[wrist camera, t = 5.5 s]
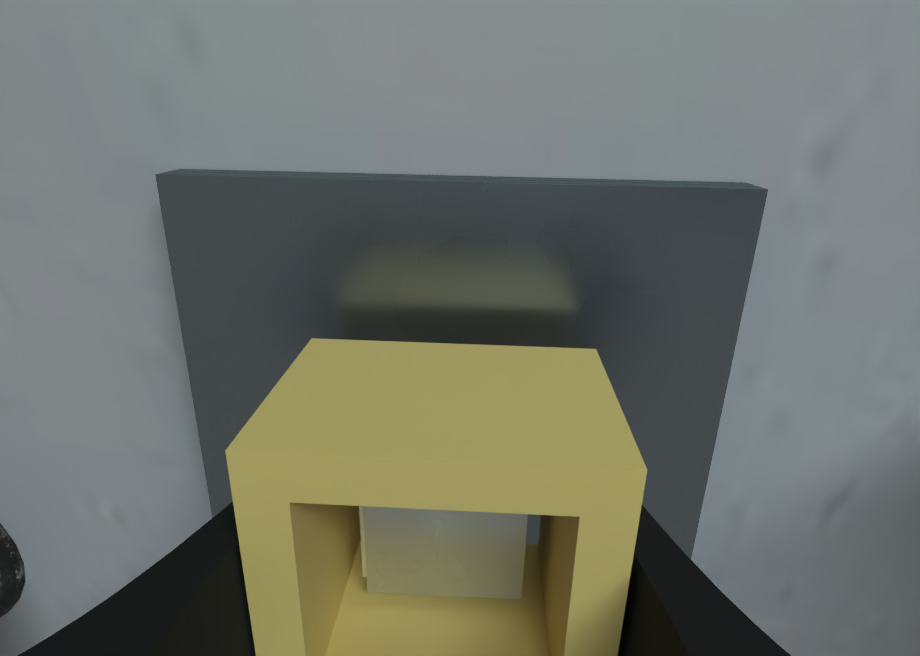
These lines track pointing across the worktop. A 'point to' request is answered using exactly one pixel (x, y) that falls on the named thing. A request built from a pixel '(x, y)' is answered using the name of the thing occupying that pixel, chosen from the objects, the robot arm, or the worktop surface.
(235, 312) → the grey square base plate
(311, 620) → the yellow square planter
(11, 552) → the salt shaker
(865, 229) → the worktop surface
